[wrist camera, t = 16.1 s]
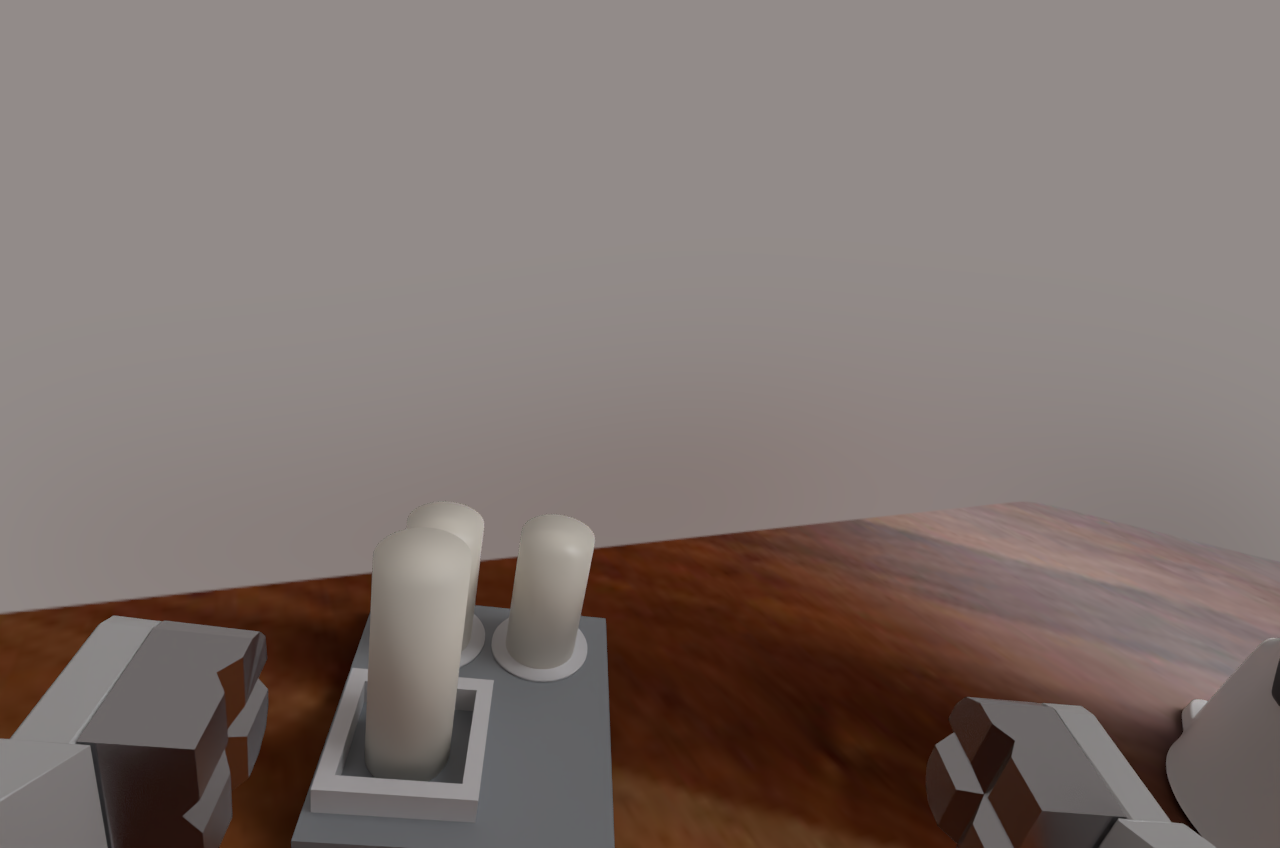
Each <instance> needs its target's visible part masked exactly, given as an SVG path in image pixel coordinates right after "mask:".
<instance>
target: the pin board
mask: <svg viewBox="0 0 1280 848" xmlns="http://www.w3.org/2000/svg"><path fill="white" fill-rule="evenodd" d="M423 527H424V528H435V529H440V530H444V531H447V532H449V533H452V534H454V535H456V536H457V537H459V538H460V539H462V540H463V541H464V542H465V543H466V544H467V546H468V547H469V549H470V551H471V555H472V563H471V571H470V580H469V589H468V597H467V606H466V615H465V624H464V632H463V641H462V650H461V659H460V667H459V676H458V685H457V694H456V702H455V711H454V720H453V729H452V737H451V746H450V754H449V758H448V761H447V763H446V765H445V767H444V768H443V769H442V771H441V772H440V773H439V774H438V775H437V776H435V777H434V778H433V779H431V780H429V781H427V782H426V781H412V780H397V779H383V778H375V777H374V776H373V775H372V774H371V773H370V772H369V770H368V768H367V766H366V763H365V732H366V709H367V685H368V662H369V638H370V615H371V611H370V614H369V617H368V620H367V623H366V626H365V629H364V631H363V634H362V637H361V640H360V643H359V646H358V649H357V652H356V655H355V657H354V660H353V663H352V666H351V669H350V672H349V675H348V678H347V681H346V684H345V686H344V689H343V692H342V695H341V698H340V701H339V704H338V707H337V710H336V712H335V715H334V718H333V721H332V724H331V727H330V730H329V733H328V736H327V738H326V741H325V744H324V747H323V750H322V753H321V756H320V759H319V762H318V765H317V767H316V770H315V773H314V776H313V779H312V782H311V785H310V788H309V791H308V793H307V796H306V799H305V802H304V805H303V808H302V811H301V814H300V817H299V819H298V822H297V825H296V828H295V831H294V834H293V837H292V840H291V848H615V845H614V820H613V794H612V768H611V742H610V716H609V690H608V664H607V638H606V619H605V618H595V617H585V616H581V611H582V606H583V601H584V596H585V590H586V585H587V580H588V575H589V570H590V565H591V560H592V555H593V550H594V544H595V536H594V534H593V532H592V530H591V529H590V528H589V527H588V526H587V525H586V524H584V523H583V522H581V521H579V520H577V519H575V518H572V517H569V516H564V515H557V514H548V515H541V516H537V517H534V518H532V519H530V520H529V521H527V522H526V523H525V525H524V526H523V528H522V532H521V539H520V546H519V553H518V560H517V567H516V574H515V580H514V587H513V594H512V601H511V608H510V609H506V608H496V607H486V606H476V605H475V600H476V591H477V583H478V574H479V566H480V557H481V548H482V541H483V532H484V521H483V518H482V516H481V515H480V514H479V513H478V512H477V511H476V510H474V509H472V508H470V507H468V506H466V505H463V504H460V503H455V502H444V501H443V502H432V503H428V504H424V505H422V506H420V507H418V508H416V509H415V510H413V511H412V512H411V513H410V515H409V516H408V519H407V529H410V528H423Z"/></svg>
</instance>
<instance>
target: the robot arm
mask: <svg viewBox="0 0 1280 848" xmlns="http://www.w3.org/2000/svg"><path fill="white" fill-rule="evenodd" d="M266 660H267V650H266V636H265V635H264V634H262V633H261V632H258V631H250V630H241V629H233V628H224V627H216V626H207V625H198V624H190V623H181V622H173V621H163V622H162V621H154V620H146V619H138V618H130V617H122V616H112V617H110V618H109V619H107V620H105V621H104V622H102V623H101V624H99V625H98V626H97V627H96V629H95V630H94V631H93V633H92V634H91V635H90V636H89V638H88V639H87V640H86V642H85V643H84V644H83V645H82V647H81V648H80V649H79V651H78V652H77V653H76V654H75V656H74V657H73V658H72V660H71V661H70V662H69V663H68V665H67V666H66V667H65V669H64V670H63V671H62V672H61V674H60V675H59V676H58V678H57V679H56V680H55V681H54V683H53V684H52V685H51V687H50V688H49V689H48V690H47V692H46V693H45V694H44V696H43V697H42V698H41V699H40V701H39V702H38V703H37V705H36V706H35V707H34V708H33V710H32V711H31V712H30V714H29V715H28V716H27V717H26V719H25V720H24V721H23V723H22V724H21V725H20V726H19V728H18V729H17V730H16V732H15V733H14V734H13V735H12V737H11V738H10V739H0V848H219V846H220V844H221V842H222V839H223V837H224V835H225V832H226V830H227V828H228V826H229V823H230V821H231V819H232V796H231V791H233V790H234V789H235V788H237V787H238V786H239V785H241V784H242V783H243V782H245V781H246V780H247V779H249V776H250V774H251V771H252V769H253V767H254V764H255V762H256V759H257V757H258V754H259V750H260V747H261V743H262V739H263V735H264V732H265V728H266V721H267V712H268V689H267V688H266V686H265V685H264V684H263V683H262V682H261V681H260V680H259V679H258V677H259V675H260V673H261V671H262V669H263V667H264V664H265V662H266ZM948 720H949V722H950V725H951V728H952V730H953V733H952V734H951V735H949V736H948V737H946V738H945V739H943V740H942V741H940V742H939V743H937V744H936V745H935V747H934V749H933V751H932V753H931V756H930V758H929V760H928V763H927V768H926V792H927V797H928V802H929V806H930V809H931V811H932V813H933V816H934V818H935V821H936V823H937V825H938V826H939V827H940V828H941V829H942V830H943V831H944V832H945V833H946V834H947V835H948V836H949V837H950V838H952V839H953V840H954V841H955V842H956V843H957V846H956V848H1280V638H1276V639H1275V638H1270V639H1267V640H1265V641H1263V642H1262V643H1261V644H1260V645H1259V646H1258V647H1257V648H1256V649H1255V650H1254V651H1253V652H1252V653H1251V654H1250V655H1249V656H1248V657H1247V659H1246V660H1245V661H1244V662H1243V663H1242V664H1241V665H1240V666H1239V667H1238V668H1237V670H1236V671H1235V672H1234V673H1233V674H1232V675H1231V676H1230V677H1229V678H1228V679H1227V681H1226V682H1225V683H1224V684H1223V685H1222V686H1221V687H1220V688H1219V690H1218V691H1217V692H1216V693H1215V694H1214V695H1213V696H1212V697H1211V699H1210V700H1209V701H1205V700H1200V699H1195V700H1192V701H1191V702H1190V703H1189V704H1188V705H1187V706H1186V707H1185V708H1184V709H1183V711H1182V724H1183V733H1182V735H1181V736H1180V737H1179V738H1178V739H1177V740H1176V741H1175V742H1174V743H1173V744H1172V746H1171V747H1170V749H1169V751H1168V754H1167V758H1166V770H1167V776H1168V780H1169V783H1170V786H1171V788H1172V791H1173V793H1174V795H1175V797H1176V799H1177V801H1178V803H1179V805H1180V806H1181V808H1182V810H1183V811H1184V813H1185V814H1186V816H1187V817H1188V819H1189V820H1190V822H1191V823H1192V824H1193V826H1194V827H1195V828H1196V829H1197V831H1198V832H1199V833H1200V834H1201V836H1202V837H1201V836H1200V835H1199V834H1197V833H1196V832H1195V831H1193V830H1192V829H1190V828H1189V827H1188V826H1186V825H1185V824H1182V823H1172V822H1171V821H1170V819H1169V818H1168V817H1167V815H1166V814H1165V812H1164V811H1163V810H1162V808H1161V807H1160V806H1159V804H1158V803H1157V801H1156V800H1155V799H1154V797H1153V796H1152V795H1151V793H1150V792H1149V790H1148V789H1147V788H1146V786H1145V785H1144V783H1143V782H1142V781H1141V779H1140V778H1139V777H1138V775H1137V774H1136V772H1135V771H1134V770H1133V768H1132V767H1131V766H1130V764H1129V763H1128V761H1127V760H1126V759H1125V757H1124V756H1123V754H1122V753H1121V752H1120V750H1119V749H1118V748H1117V746H1116V745H1115V743H1114V742H1113V741H1112V739H1111V738H1110V737H1109V735H1108V734H1107V732H1106V731H1105V730H1104V728H1103V727H1102V726H1101V724H1100V723H1099V721H1098V720H1097V719H1096V717H1095V716H1094V715H1093V714H1092V713H1090V712H1089V711H1088V710H1086V709H1085V708H1083V707H1082V706H1074V705H1062V704H1049V703H1042V704H1039V703H1034V702H1022V701H1010V700H998V699H986V698H973V697H965V698H964V699H962V700H961V701H960V702H958V703H957V704H956V705H955V707H954V709H953V711H952V713H951V715H950V717H949V719H948Z"/></svg>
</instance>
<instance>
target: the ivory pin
mask: <svg viewBox="0 0 1280 848" xmlns="http://www.w3.org/2000/svg"><path fill="white" fill-rule="evenodd" d="M471 563H472V555H471V551H470V549H469V547H468V546H467V544H466V543H465V542H464V541H463V540H462V539H460V538H459V537H457V536H456V535H454V534H452V533H449V532H447V531H444V530H440V529H435V528H424V527H423V528H410V529H405V530H401V531H398V532H395V533H393V534H390V535H389V536H387V537H386V538H384V539H383V540H382V541H381V542H380V543H379V544H378V545H377V546H376V548H375V550H374V554H373V568H372V591H371V615H370V638H369V662H368V685H367V709H366V732H365V763H366V766H367V768H368V770H369V772H370V773H371V774H372V775H373V776H374V777H375V778H383V779H397V780H412V781H426V782H427V781H429V780H431V779H433V778H434V777H435V776H437V775H438V774H439V773H440V772H441V771H442V769H443V768H444V767H445V765H446V763H447V761H448V758H449V754H450V746H451V737H452V729H453V720H454V711H455V702H456V694H457V685H458V676H459V667H460V659H461V650H462V641H463V632H464V624H465V615H466V606H467V597H468V589H469V580H470V571H471Z"/></svg>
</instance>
